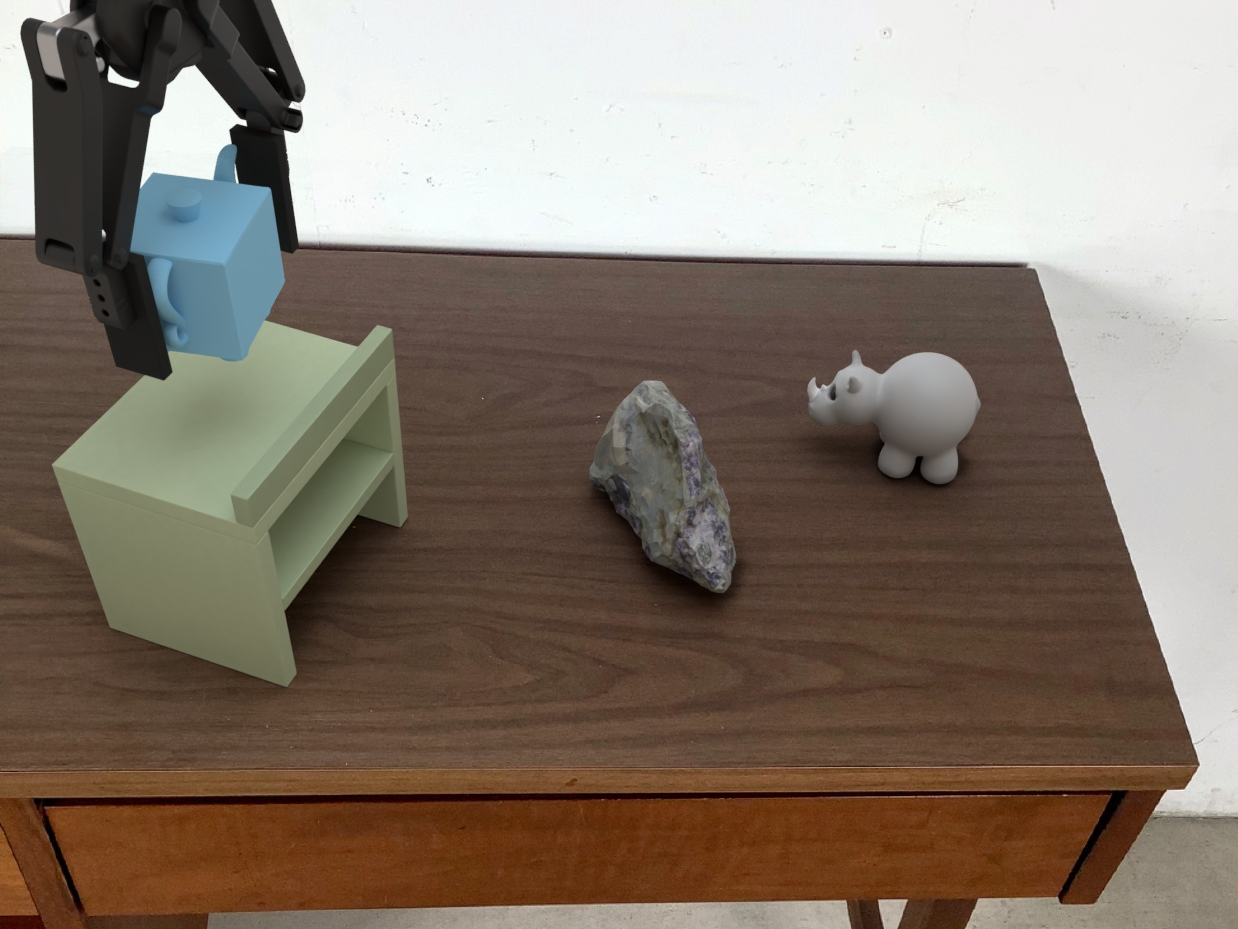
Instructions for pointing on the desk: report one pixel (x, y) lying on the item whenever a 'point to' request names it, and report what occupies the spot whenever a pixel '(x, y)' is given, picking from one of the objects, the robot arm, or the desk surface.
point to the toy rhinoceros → (904, 410)
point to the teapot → (209, 258)
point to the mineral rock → (666, 486)
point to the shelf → (235, 490)
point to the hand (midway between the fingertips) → (213, 303)
